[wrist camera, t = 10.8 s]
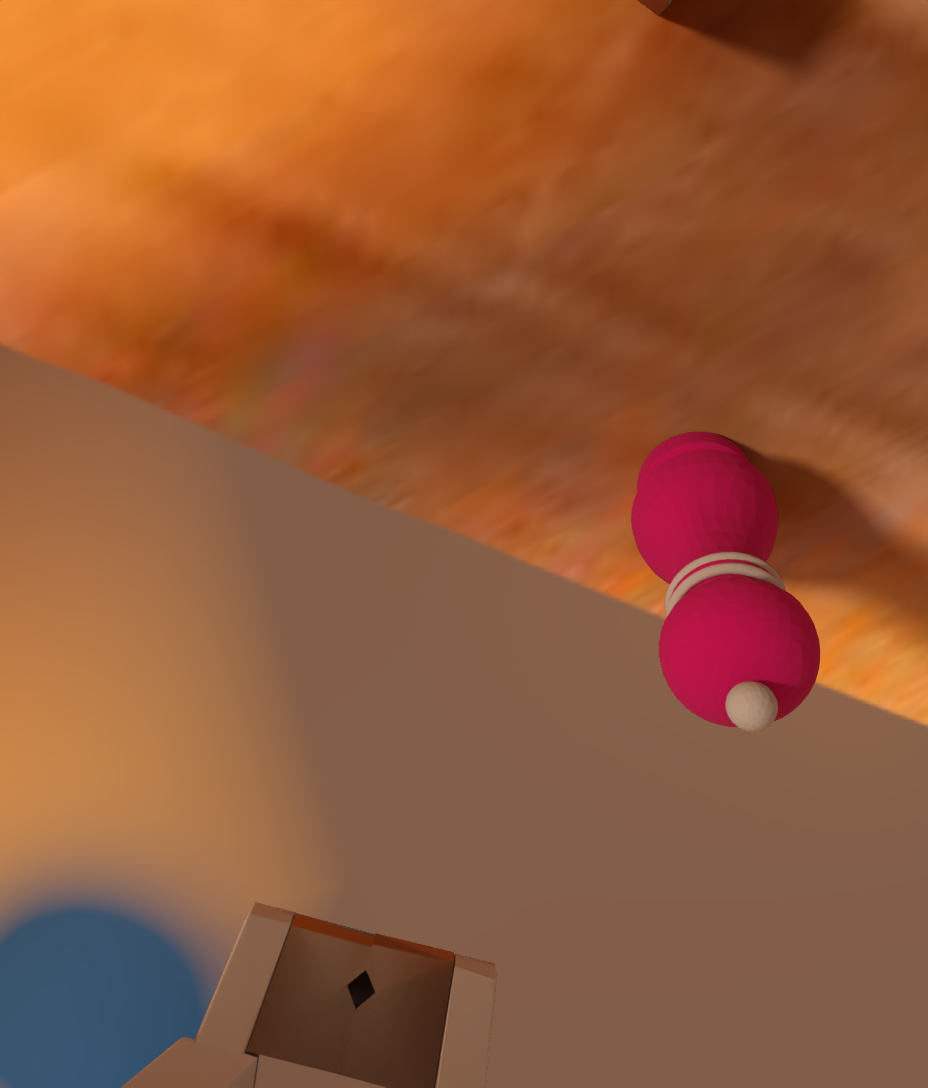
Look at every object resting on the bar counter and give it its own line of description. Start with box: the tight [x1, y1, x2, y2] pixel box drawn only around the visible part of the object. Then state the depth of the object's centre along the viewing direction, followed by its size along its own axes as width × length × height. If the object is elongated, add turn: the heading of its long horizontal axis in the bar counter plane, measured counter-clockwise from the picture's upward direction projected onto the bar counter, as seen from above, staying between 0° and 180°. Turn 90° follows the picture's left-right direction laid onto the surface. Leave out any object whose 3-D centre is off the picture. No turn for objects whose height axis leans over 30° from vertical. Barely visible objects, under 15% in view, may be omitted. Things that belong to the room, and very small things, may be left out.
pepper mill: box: [631, 432, 820, 731], centre depth 37 cm, size 7×7×20 cm
